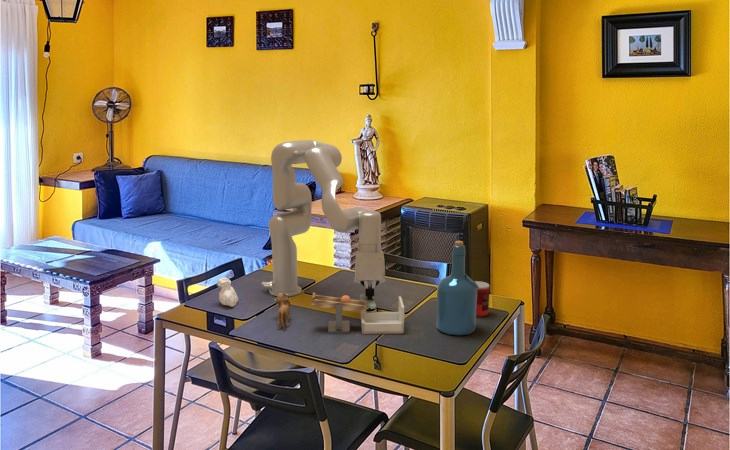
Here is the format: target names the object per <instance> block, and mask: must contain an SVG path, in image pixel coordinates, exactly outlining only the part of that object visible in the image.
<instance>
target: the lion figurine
mask: <svg viewBox="0 0 730 450" xmlns="http://www.w3.org/2000/svg"><path fill="white" fill-rule="evenodd" d="M273 300H274V302H275V304H277V306H278V311H277V330H280V329H282V328H283V330H284V331H286V330H287V328H286V326H287V327H290V326H291V324H290V323H289V320H291V318H290V315H291V302H290V298H289V297H287V295H286V294H284V293H279V296H276V298H274V299H273ZM284 320H285V324H284ZM281 325H282V326H281ZM285 325H286V326H285Z"/></svg>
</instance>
